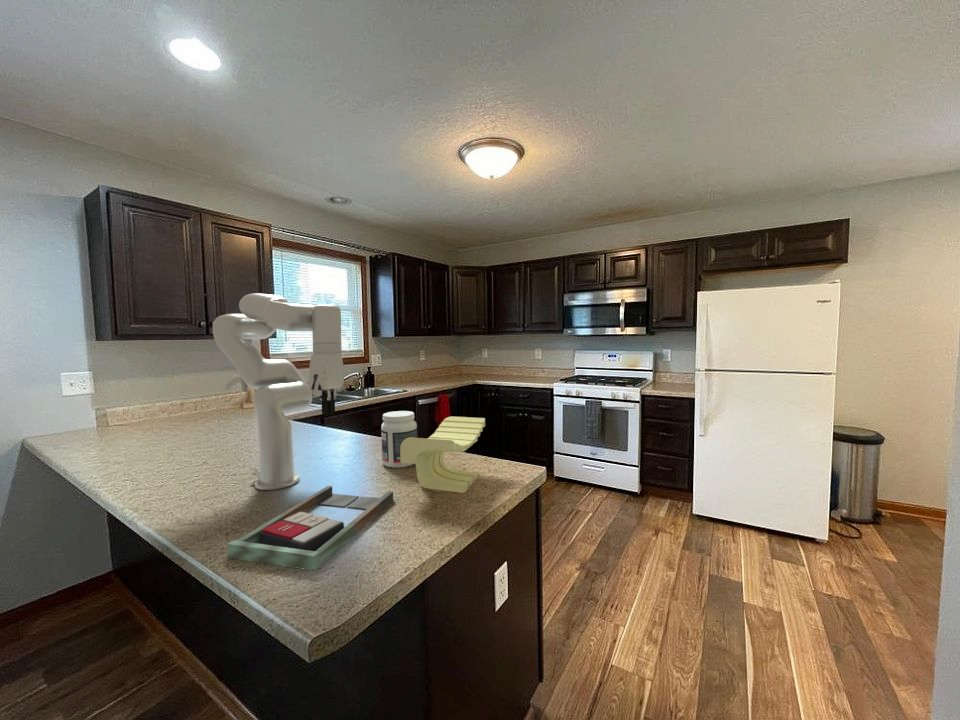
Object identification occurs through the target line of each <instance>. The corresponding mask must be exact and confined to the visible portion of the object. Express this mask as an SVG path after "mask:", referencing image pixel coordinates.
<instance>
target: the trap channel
mask: <svg viewBox="0 0 960 720" xmlns="http://www.w3.org/2000/svg"><path fill="white" fill-rule="evenodd" d="M393 502H394V492H393V491H387V492H386V493H384V494H383V495H382V496H380V497H371V496H364V495H363V496H361V495H360V496H358V495H352V494H351V495H349V494H339V493H333V486H331V485H327V486H325V487H324V488H321V489H320V490H319V491H317V492H315V493H314V494H312V495H310V496H308V497H307V498H305V499H304V500H302V501H300V502H297V504H295V505H293V506H292V507H289V508H288V509H287V510H285V511H284V512H282V513H280V514H279V515H277V516H275V517H273V518H272V519H270V520H269V521H267V522H265V523H264V524H262V525H260V526H258V527H257V528H255V529H254V530H251V531H250V532H249V533H247V534H245V535H244V536H242V537H240V538H238V539H237V540H234V539H233V540H231V541H229V542H228V543H226V547H227V558H228V559H233V560H240V561H247V562H253V563H254V562H255V563H259V562H261V564H266V563H268V565H273V564H275V565H274V566H279V565H284V566H283V567H286V566H289V568H293V567H298V568H297V569H299V568H304V569H303V570H306V569H309V570H308V571H312V570H315V571H317V570H318V567H319V566H320V565H321V564H322V565H324V563H326V562H327V561H328V560H329V559H330V558H331V557H332V556H333V555H334V554H336V553H337V551H339V550H340V549H341V548H342V547H343V546H345V545H346V543H348V542H349V541H350V540H351V539H352V538H353V537H354V536H356V535H357V534H358V533H359V532H360V531H362V529H363V528H364V527H365V526H367V525H366V524H367V523H368V522H369V523H370V522H371V521H372V520H373V519H374V518H376V517H377V516H378V515H379V514H380V513H381V512H382V511H383V510H384V509H386V506H390V504H391V503H393ZM317 505H318V506H327V507H336V508H337V507H338V508H345V509H346V508H348V509H355V510H363V511H362V512H361V513H360V514H359V515H357V516H356V517H355V518H354V519H352V520H351V522H349V523H348V524H346V526H344V528H343V529H342V530H341V531H339V532H338V533H337V534H336V535H335V536H333V537H332V538H331V539H330V540H329V541H327V542H326V543H325V544H324V545H322V546H321V547H320V548H319V549H318V550H316V551H309V550H301V549H294V548H287V547H279V546H272V545H265V544H260V532H261V531H263V530H262V529H264V528H266V527H268V526H271V525H273V524H275V523H277V522H279V521H284V519H286V518H288V517H290V516H292V515H295V514H297V513H299V512H304V513H307V512H308V511H309V510H311V509H313V508H314V507H316V506H317ZM364 509H365V510H364ZM377 514H378V515H377ZM376 515H377V516H376ZM369 523H368V524H369ZM359 530H360V531H359ZM358 531H359V532H358ZM357 532H358V533H357ZM348 540H349V541H348ZM347 541H348V542H347ZM329 557H330V558H329ZM328 558H329V559H328ZM327 559H328V560H327ZM322 565H321V566H322ZM321 566H320V567H321ZM320 567H319V568H320Z"/></svg>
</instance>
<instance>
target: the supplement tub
mask: <svg viewBox="0 0 960 720" xmlns="http://www.w3.org/2000/svg"><path fill="white" fill-rule="evenodd" d="M415 418H416V417H415V413H414V412H413V411H411V410H410V411H409V410H398V411H387V412H385V413H383V414H382V421H383V422H382V424H381V427H380V429H381V430H380V433H381V459H382V464H383V465H384V466H385V467H388V468H391V467H392V468H393V469H400V468H401V467H402V468H406V467H407V466H408V467H411V466H413V465H414V464H410V463H401V462H400V446H401V443H402V442H403V441H404V440H405V439H406V438H409V437H413V438H418V423H417V422H416V421H415ZM392 468H391V469H392ZM402 468H401V469H402Z"/></svg>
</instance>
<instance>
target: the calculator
mask: <svg viewBox="0 0 960 720" xmlns="http://www.w3.org/2000/svg"><path fill="white" fill-rule="evenodd" d="M344 527H345V523H344V522H343V521H340V520H336V519H332V518H329V517H327V516H321V515H317V514H315V515H314V514H313V513H308V512H305V513H304V512H299V513H297V514H295V515H292V516H290V517H288V518H286V519H284V521H279V522H277V523H275V524H273V525H271V526H268V527H266V528H264V529H262V530H263V531H261V532H260V542H259V544H265V545H272V546H279V547H287V548H294V549H301V550H309V551H316V550H318V549H319V548H320V547H321V546H322V545H324V544H325V543H326V542H327V541H329V540H330V539H331V538H332V537H333V536H335V535H336V534H337V533H338V532H339V531H341V530H342V529H343V528H344Z"/></svg>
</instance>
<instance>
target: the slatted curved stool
mask: <svg viewBox="0 0 960 720" xmlns="http://www.w3.org/2000/svg"><path fill="white" fill-rule="evenodd" d="M485 427H486V418H485V417H471V416H470V417H468V416H448V417H445V418H444V419H443V420H442V421H441V422H440V424H439V425H438V427H437V428H436V430H435V431H434V433H432V434H431V435H430V436H429V437H427V438H425V437H417V438H413V437H409V438H406V439H405V440H404V441H403V442H402V443H401V446H400V462H401V463H410V464H413V465H415V469H416V477H417V478H416V479H417V480H418V483H419V484H420V486H421V487H422V488H423V489H427V488H428V489H429V490H436V491H445V492H454V493H460V494H461V493H463V494H464V493H466V491H467V490H468V489H469V488H470V487H471V486H472V485H473V484H474V482H476V481H477V479H478V478H479V476H478V472H474V471H473V472H472V471H466V470H461V469H460V470H459V469H456V468H452V467H450V466H448V465H447V464H446V463H445V461H444V454H445V452H449V453H450V452H454V453H458V452H459V453H465V451H467V450H468V449H469V448H470V447H472V446H473V444H475V443H476V442H478V438H479V437H480V436H481V433H482V432H483V428H485ZM472 483H473V484H472ZM471 484H472V485H471ZM428 489H427V490H428Z"/></svg>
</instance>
